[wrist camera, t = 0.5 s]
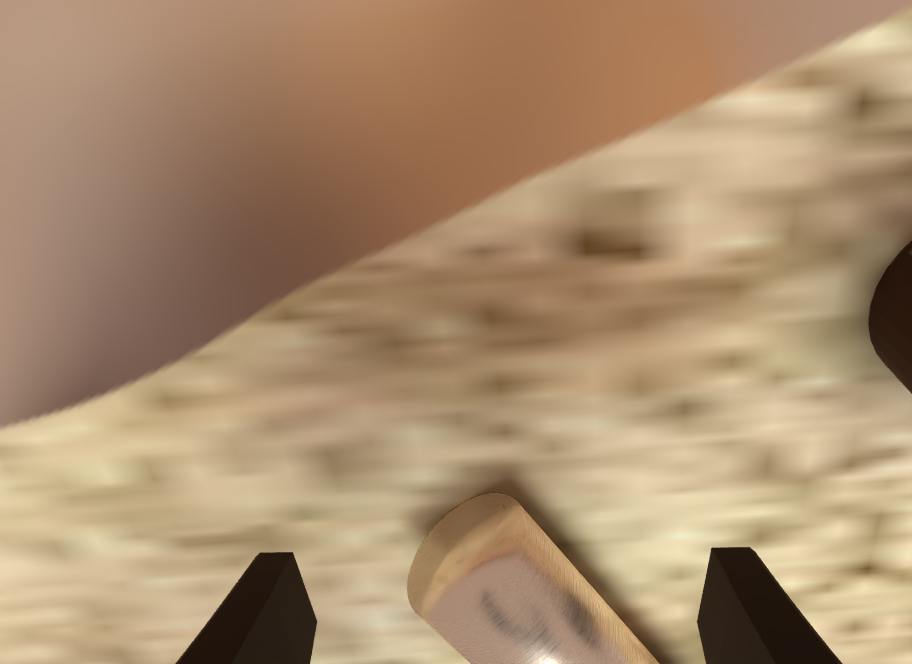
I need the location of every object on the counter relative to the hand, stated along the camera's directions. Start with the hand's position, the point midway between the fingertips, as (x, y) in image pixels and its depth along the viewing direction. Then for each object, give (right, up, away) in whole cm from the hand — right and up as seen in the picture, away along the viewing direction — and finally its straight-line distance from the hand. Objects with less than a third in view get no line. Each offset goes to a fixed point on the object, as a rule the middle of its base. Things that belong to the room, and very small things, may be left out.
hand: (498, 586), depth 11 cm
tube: (+5, -9, +16) cm, 18 cm away
